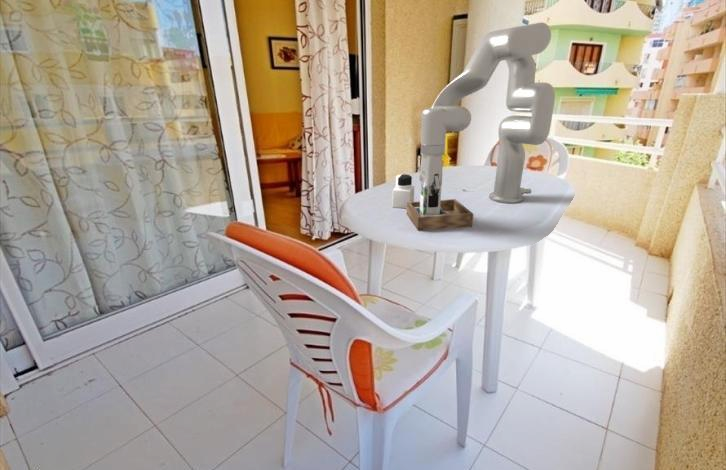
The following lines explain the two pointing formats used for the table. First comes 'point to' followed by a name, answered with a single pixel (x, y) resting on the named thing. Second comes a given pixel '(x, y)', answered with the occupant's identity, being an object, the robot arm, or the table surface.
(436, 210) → the syrup box
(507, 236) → the table surface
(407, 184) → the medicine bottle
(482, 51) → the robot arm
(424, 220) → the walled box
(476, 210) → the table surface
